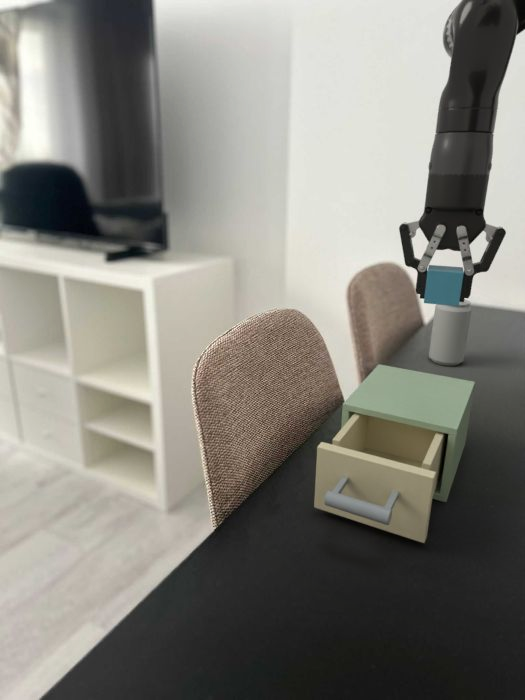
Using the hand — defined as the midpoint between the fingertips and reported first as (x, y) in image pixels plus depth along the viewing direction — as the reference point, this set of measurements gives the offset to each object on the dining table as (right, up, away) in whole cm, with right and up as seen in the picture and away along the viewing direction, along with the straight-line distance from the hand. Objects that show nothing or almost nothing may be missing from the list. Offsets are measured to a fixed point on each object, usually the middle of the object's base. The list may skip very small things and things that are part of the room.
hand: (441, 298), depth 72 cm
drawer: (-13, -23, -17) cm, 32 cm away
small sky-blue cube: (0, 0, 0) cm, 0 cm away
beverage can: (+10, -10, +26) cm, 30 cm away
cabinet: (-7, -21, -7) cm, 23 cm away
